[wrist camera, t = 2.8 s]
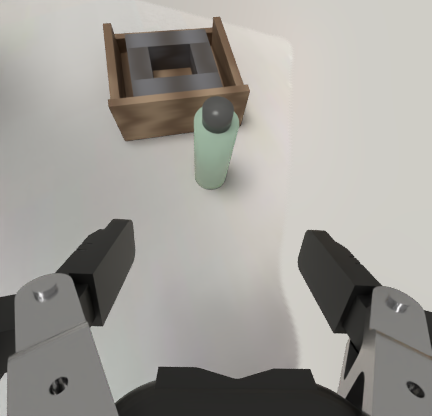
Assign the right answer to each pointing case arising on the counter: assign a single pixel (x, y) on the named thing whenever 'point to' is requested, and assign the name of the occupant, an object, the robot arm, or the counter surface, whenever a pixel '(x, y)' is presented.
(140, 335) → the counter surface
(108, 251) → the robot arm
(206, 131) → the mint green cylinder
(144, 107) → the box
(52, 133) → the counter surface
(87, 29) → the counter surface
